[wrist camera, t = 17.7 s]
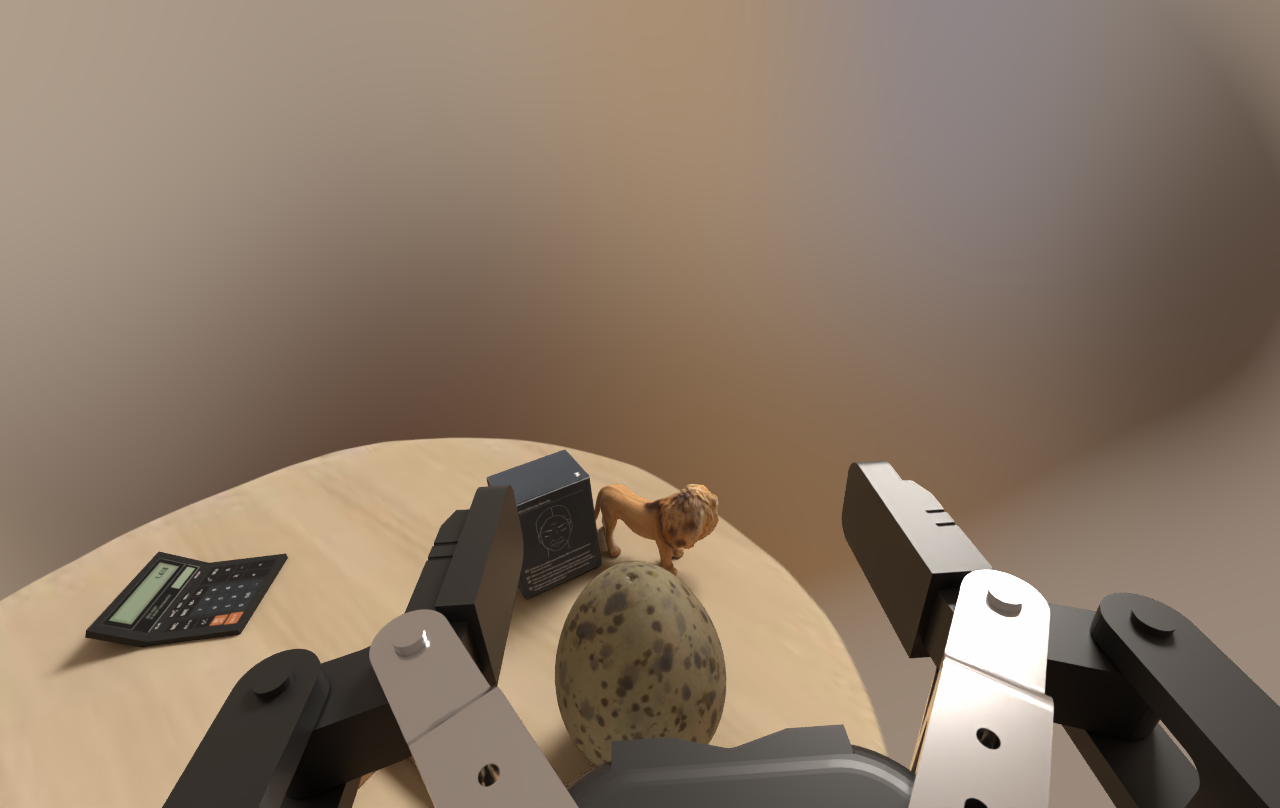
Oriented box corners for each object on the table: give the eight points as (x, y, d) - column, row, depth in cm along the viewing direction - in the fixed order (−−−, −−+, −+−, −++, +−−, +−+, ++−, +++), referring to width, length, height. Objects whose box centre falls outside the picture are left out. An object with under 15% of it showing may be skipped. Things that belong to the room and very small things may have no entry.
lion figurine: (725, 551, 54) (727, 476, 49) (708, 591, 49) (709, 512, 45) (591, 518, 59) (582, 447, 55) (566, 551, 55) (555, 477, 51)
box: (578, 533, 57) (566, 447, 52) (602, 566, 53) (592, 476, 48) (504, 563, 54) (484, 475, 49) (524, 602, 49) (504, 509, 44)
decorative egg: (581, 664, 44) (557, 515, 36) (719, 667, 43) (722, 515, 36) (554, 819, 34) (514, 658, 27) (730, 827, 33) (737, 664, 26)
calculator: (241, 636, 48) (227, 612, 47) (99, 655, 47) (80, 631, 46) (288, 559, 56) (278, 537, 55) (168, 574, 55) (154, 552, 54)
